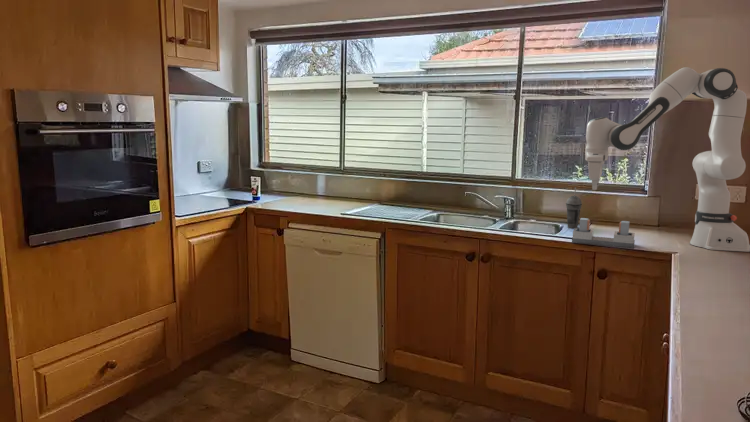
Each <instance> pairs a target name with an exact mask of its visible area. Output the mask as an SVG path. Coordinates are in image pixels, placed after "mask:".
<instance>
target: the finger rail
mask: <svg viewBox="0 0 750 422" xmlns="http://www.w3.org/2000/svg"><path fill="white" fill-rule="evenodd" d="M594 231H595V230H594V229H592V228H591V229H590V228H589V230H588V232H581V231H579V227H577V228H573V231H572V238H571V243H572V244H582V245H592V246H604V247H613V248H615V247H616V248H624V249H635V241H636V239H635V232H629V234H628V235H620V233H619V230H618V231H617V230H615V231H614V233H613V237H605V236H595V235H594Z"/></svg>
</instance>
